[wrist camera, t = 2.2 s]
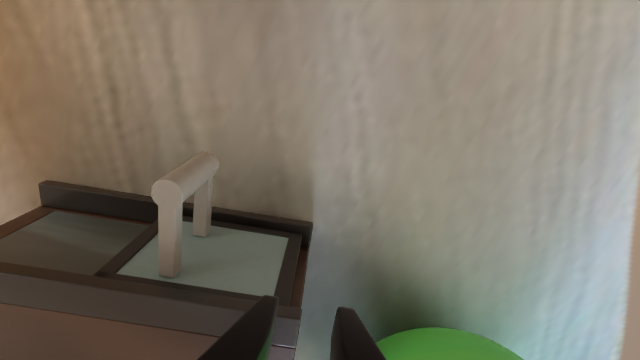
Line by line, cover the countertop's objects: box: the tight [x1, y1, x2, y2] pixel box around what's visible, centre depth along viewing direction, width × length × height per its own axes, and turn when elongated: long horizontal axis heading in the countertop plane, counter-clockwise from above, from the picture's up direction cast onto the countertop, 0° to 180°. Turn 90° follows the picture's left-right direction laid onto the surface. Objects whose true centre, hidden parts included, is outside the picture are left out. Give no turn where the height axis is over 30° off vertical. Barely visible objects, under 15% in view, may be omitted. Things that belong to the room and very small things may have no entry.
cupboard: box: [0, 180, 313, 360], centre depth 19 cm, size 11×18×9 cm, turn 81°
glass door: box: [92, 152, 302, 306], centre depth 17 cm, size 6×9×7 cm, turn 81°
